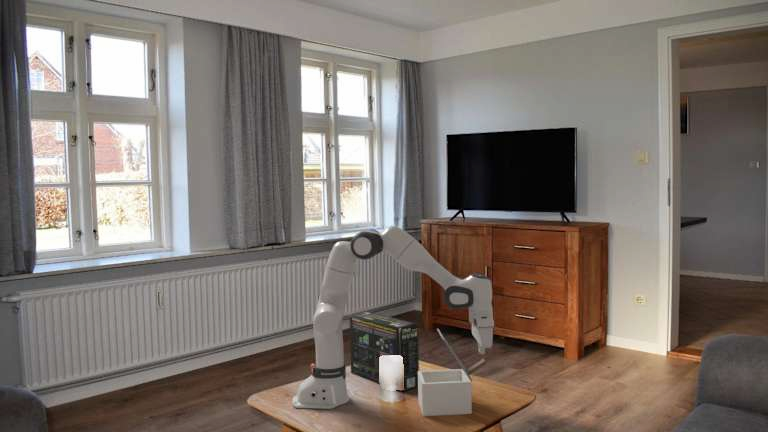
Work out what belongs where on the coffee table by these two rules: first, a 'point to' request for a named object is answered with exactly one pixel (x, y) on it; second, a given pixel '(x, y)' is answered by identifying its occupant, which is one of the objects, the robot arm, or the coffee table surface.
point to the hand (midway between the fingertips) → (481, 353)
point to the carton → (444, 392)
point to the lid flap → (468, 371)
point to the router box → (383, 345)
